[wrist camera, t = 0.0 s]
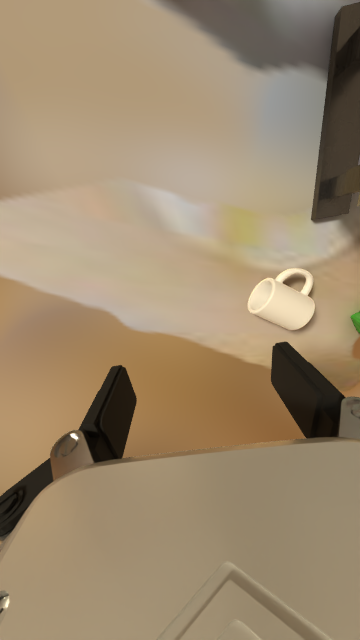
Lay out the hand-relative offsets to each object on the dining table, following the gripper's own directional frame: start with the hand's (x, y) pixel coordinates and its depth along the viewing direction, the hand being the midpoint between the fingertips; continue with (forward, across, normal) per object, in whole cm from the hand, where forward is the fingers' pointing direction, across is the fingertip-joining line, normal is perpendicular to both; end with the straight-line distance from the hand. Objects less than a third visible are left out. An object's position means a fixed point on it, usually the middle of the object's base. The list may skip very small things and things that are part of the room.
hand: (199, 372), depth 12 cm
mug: (+32, -20, +7) cm, 38 cm away
